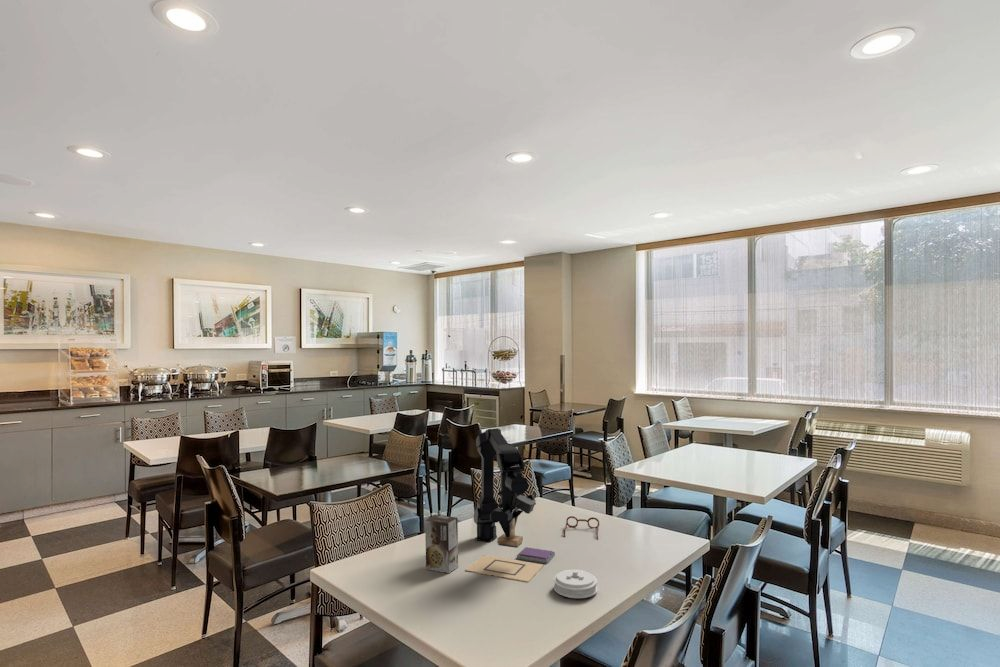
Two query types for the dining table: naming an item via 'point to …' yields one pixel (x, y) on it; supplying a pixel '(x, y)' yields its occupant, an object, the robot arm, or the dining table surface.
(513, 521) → the stamp
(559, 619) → the dining table surface
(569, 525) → the glasses
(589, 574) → the lid
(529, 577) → the stamp board
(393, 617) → the dining table surface
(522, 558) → the ink pad
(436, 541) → the coffee box
